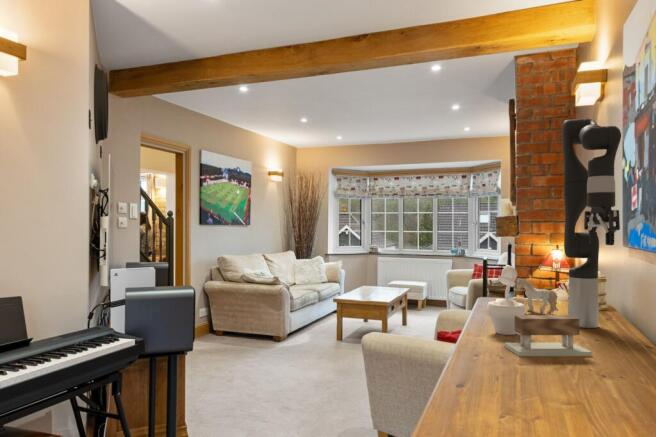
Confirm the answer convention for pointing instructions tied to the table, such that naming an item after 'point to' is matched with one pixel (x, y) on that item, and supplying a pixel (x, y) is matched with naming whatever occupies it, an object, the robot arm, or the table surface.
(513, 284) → the potted plant
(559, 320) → the walnut shelf board
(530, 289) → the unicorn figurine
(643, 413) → the table surface
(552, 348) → the peg stand
